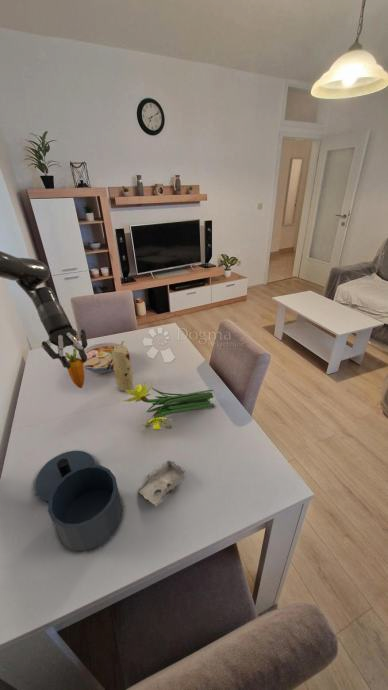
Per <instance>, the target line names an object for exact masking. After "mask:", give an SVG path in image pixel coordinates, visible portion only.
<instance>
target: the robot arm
mask: <svg viewBox="0 0 388 690" xmlns="http://www.w3.org/2000/svg"><path fill="white" fill-rule="evenodd" d="M50 277H51V271H50V268H49V267H48V266H47V264H46V263H44V262H42V261H41V260H38V259H34V258H30V257H29V258H28V257H17V256H15V255H12V254H9V253H7V252H4V251H2V250H0V278H2V279H6V280H9V281H14V282H15V283H16V284H17V285H18V286H19V287H20V288H21V289H22V290H23V291H24V293H25V294H26V295H27V296H28V297H29V298H30V300H31V301H32V303H33V306H34V307H35V309H36V311H37V312H36V313H37V314H38V317H39V320H40V322H41V323H42V326H43V328H44V330H45V333H46V334H47V336H48V339H46V341H45V340H44V341H42V342H41V348H42V349H43V350H44V351H45V352H46V354H48V356H49V357H50V358H51V360H56V359H57V360H59V361H60V363H61V365H62V367H63V368H64V369H65V368H66V370H68V368H70V365H69V363H68V358H67V357H66V356H65V355H64V354H65V353H64V349H65V348H66V347H70V346H71V347H72V348H73V349H74V348H75V349H76V351H77V352H78V355H80V357H81V359H82V361H83V363H84V362H86V359H87V356H86V354H85V352H84V349H85V348H88V340H87V334H86V330H85V329H81V330H76V329H74V328H73V326H72V323H71V322H70V320H69V318H68V316H67V314H66V312H65V310H64V308H63V306H62V305H61V303H60V302H59V300H58V298H57V296H56V294H55V292H54V290H53V289H52V288H51V287H49V286H42V287H41V286H40V285H42V284H43V283H45V282H46V281H48V280H49V279H50ZM39 286H40V287H39ZM76 337H78V338H80V342H81V343H80V342H79V341H78V340H77V339H76ZM51 344H52V345H54V346H56V347H57V352H55V350H54V349H53V348H52V347H51V346H52V345H51Z"/></svg>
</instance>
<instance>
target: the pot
mask: <svg viewBox="0 0 388 690" xmlns="http://www.w3.org/2000/svg"><path fill="white" fill-rule="evenodd" d="M47 502H48V501H47ZM47 512H48V515H49V517H50V519H51V521H52V523H53V525H54V528H55V530H56V533H57V534H58V536H59V539H60V540H61V542H62V544H63V545H64V546H65V547H66V548H68V549H70V550H72V551H74V552H75V551H76V552H85V551H90V550H94V549H96V548H98V547H99V546H101V545H103V544H104V543H106V542H107V541H108V540H109V539H110V538H111V537H112V536H113V535H114V533H115V532H116V530H117V528H118V527H119V524H120V522H121V519H122V513H123V506H122V500H121V495H120V492H119V487H118V482H117V478H116V476H115V474H114V473H113V472H112V471H111V469H110V468H107V467H105V466H103V465H100V464H96V465H87V466H83V467H80V468H77V469H75V470H73V471H72V472H70V473H68V474H67V475H65V476H64V477H63V478H62V479H61V480H60V481H59V482H58V483H57V484H56V485H55V487H54V489H53V491H52V493H51V495H50V497H49V502H48V503H47Z"/></svg>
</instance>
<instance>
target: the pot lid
mask: <svg viewBox="0 0 388 690" xmlns="http://www.w3.org/2000/svg"><path fill="white" fill-rule="evenodd" d="M87 465H97V464H96V461H95V459H94V457H93V456H92V455H91V454H90V453H88V452H86V451H83V450H69V451H65V452H62V453H60V454H58V455H55V457H53V458H51V459H50V460H49V461H47V462H46V463H45V464H44V465H43V466H42V468H41V469H40V471H39V472H38V474H37V475H36V478H35V482H34V489H35V492H36V494H37V496H38V497H39V498H40V499H41V500H43V501H44V502H49V497H50V495H51V493H52V491H53V489H54V487H55V485H56V484H57V483H58V482H59V481H60V480H61V479H62V478H63V477H64V476H65V475H67V474H68V473H70V472H72V471H73V470H75V469H77V468H80V467H83V466H87Z"/></svg>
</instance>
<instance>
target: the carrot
mask: <svg viewBox="0 0 388 690" xmlns="http://www.w3.org/2000/svg"><path fill="white" fill-rule="evenodd" d="M64 354H65V355H64V356H65V357H66V359H67V361H68V363H69V365H70V368H68V369H67V372H68V375H69V377H70V379H71V381H72V382H73V384H74V385H75V386H76V387H77V388H79V389H83V386H84V385H85V384H84V383H85V368H84V366H83V361H82V360H81V359H79V358H78V357H77V350H76V349H75V348H74V347H73V353H72V354H70V353H68V352H65V353H64Z"/></svg>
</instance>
